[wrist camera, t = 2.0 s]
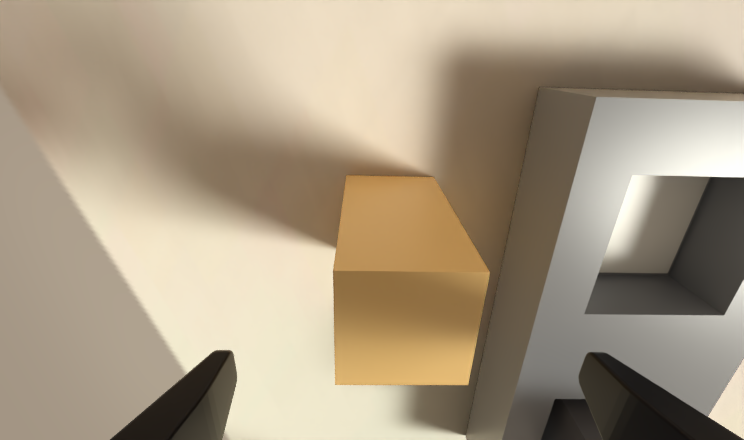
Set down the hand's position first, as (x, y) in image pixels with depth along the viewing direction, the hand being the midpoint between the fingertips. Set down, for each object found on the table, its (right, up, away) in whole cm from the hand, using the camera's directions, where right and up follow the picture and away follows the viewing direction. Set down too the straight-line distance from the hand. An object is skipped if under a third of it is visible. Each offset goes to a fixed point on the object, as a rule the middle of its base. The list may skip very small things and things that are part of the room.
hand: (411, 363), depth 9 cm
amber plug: (0, +4, +8) cm, 9 cm away
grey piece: (+11, -1, +10) cm, 15 cm away
